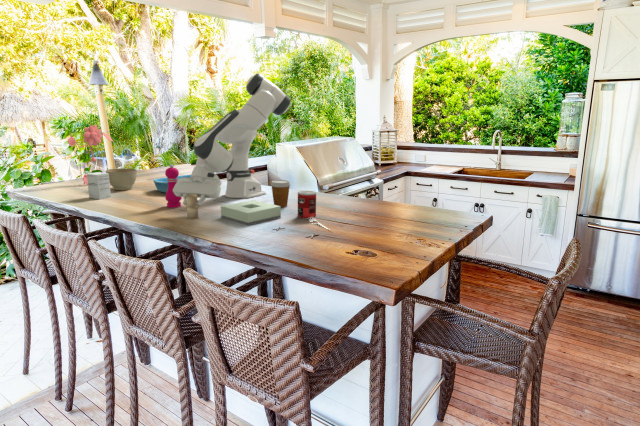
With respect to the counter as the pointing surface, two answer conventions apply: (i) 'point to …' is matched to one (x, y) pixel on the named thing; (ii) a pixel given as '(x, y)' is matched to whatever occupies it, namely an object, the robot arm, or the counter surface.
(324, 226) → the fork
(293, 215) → the counter surface
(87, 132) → the red flower plant
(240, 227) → the counter surface
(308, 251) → the counter surface
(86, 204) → the counter surface
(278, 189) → the disposable coffee cup
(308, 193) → the canned food
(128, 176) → the planter bowl
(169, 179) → the pepper mill
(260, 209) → the socket block
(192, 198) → the birch peg
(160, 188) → the casserole dish
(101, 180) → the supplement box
